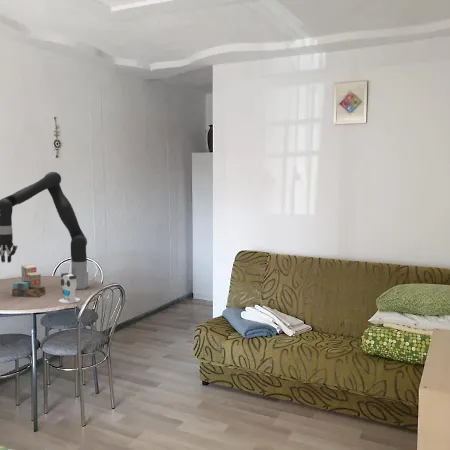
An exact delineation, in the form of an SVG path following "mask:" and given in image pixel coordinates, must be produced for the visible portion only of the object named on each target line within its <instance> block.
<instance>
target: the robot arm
mask: <svg viewBox="0 0 450 450" xmlns="http://www.w3.org/2000/svg"><path fill="white" fill-rule="evenodd" d="M61 182H62V176H61V175H60V173H59V172H57V171H50V172H48V173H46V174H45V175H44V176H43V177H42V178H41V179H39V180H38V181H35V182H34V183H31V184H30V185H28V186H26V187H24V188H21V189H20V190H18V191H16V192H14V193H12V194H10V195H8V196H6V197H3V198H1V199H0V261H1V263H5V262H6V255H7V264H8V263H11V262H12V257H13V256H14V255H15V253H16V252H17V249H18V245H15V244H14V242H13V237H14V236H13V235H14V234H13V226H12V225H13V221H12V217H13V207H14V206H18V205H20V204H22V203H24V202H27V201H28V200H30V199H31V198H33V197H35V196H36V195H38V194H39V193H42V192H43V191H45V190H47V191H48V193H49V194H50V197H51V199H52V201H53V204H54V206H55V208H56V213H57V214H58V216H59V218H60V220H61V222H62V223H63V225H64V226H65V228H66V229H67V231H68V233H69V235H70V238H71V239H70V240H71V241H70V257H71V274H72V275H76V283H77V287H76V290H86V289H87V288H88V287H89V272H88V266H87V265H88V259H87V245H88V240H87V238H86V235H85V234H84V232H83V231H82V229H81V227H80V224H79V221H78V218H77V216H76V213H75V211H74V209H73V206H72V204H71V203H70V200H69V199H68V198H67V197H66V195H65V193H64V192H63V190H62V187H61V185H60V184H61ZM5 254H6V255H5Z"/></svg>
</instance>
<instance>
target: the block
mask: <svg viewBox="0 0 450 450" xmlns="http://www.w3.org/2000/svg"><path fill="white" fill-rule="evenodd" d="M17 283H24V286H25V289H27V290H29V282H22V281H16V282H13V283H12V289H17Z"/></svg>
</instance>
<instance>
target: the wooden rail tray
mask: <svg viewBox="0 0 450 450" xmlns="http://www.w3.org/2000/svg"><path fill="white" fill-rule="evenodd" d="M23 282H29V290H27V289H25V286H24V283H17V289H13V288H12V290H11V296H12V297H25V298H26V297H28V298H40V297H42V296H44V295H46V287H45V286H41V287H31V282H30V281H23Z"/></svg>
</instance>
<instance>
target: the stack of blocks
mask: <svg viewBox="0 0 450 450" xmlns="http://www.w3.org/2000/svg"><path fill="white" fill-rule="evenodd" d="M20 266H21V282H23V281H30V282H31V287H42V286H41V284H42V283H41V282H42V281H41V280H42V279H41V278H42V277H41V276H42V275H41V274H40V273H39V272H37V266H34V265H32V264H21V265H20Z"/></svg>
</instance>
